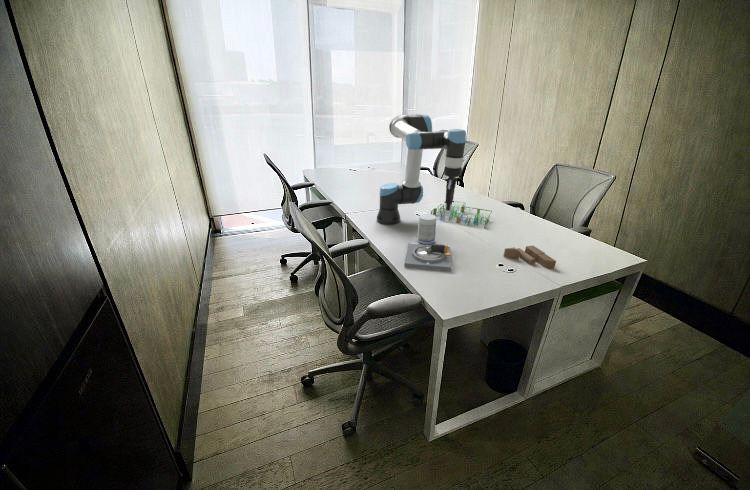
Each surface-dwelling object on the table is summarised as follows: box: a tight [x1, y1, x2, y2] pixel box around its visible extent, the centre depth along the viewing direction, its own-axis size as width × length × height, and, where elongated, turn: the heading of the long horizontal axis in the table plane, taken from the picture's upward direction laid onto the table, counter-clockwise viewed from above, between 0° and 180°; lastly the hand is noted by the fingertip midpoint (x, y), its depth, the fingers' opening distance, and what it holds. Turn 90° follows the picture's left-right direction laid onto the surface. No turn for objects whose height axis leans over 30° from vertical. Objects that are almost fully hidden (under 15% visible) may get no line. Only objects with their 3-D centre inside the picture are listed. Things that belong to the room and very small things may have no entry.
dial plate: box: [403, 243, 452, 272], centre depth 166 cm, size 22×22×3 cm
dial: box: [416, 243, 449, 259], centre depth 165 cm, size 15×12×6 cm
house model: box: [430, 200, 493, 229], centre depth 220 cm, size 35×30×5 cm
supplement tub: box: [417, 213, 437, 245], centre depth 182 cm, size 10×10×15 cm
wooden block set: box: [503, 245, 557, 269], centre depth 163 cm, size 17×6×18 cm
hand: (447, 215), depth 157 cm, fingers closed
